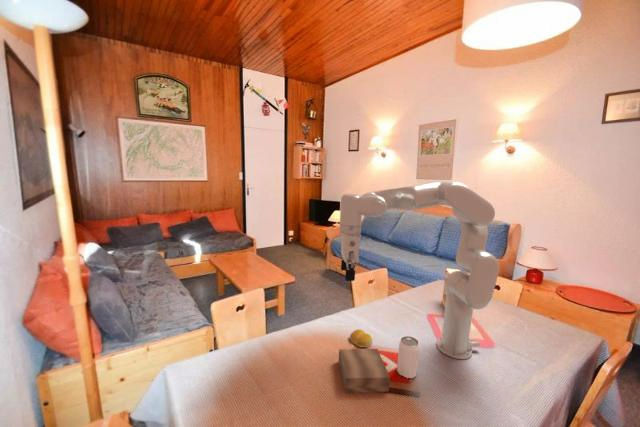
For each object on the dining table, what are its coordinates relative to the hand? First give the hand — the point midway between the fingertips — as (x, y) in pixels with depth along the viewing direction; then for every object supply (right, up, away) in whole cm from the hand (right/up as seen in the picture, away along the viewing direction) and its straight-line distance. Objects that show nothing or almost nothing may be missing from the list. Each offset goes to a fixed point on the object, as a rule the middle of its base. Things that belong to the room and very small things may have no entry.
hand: (347, 275), depth 102 cm
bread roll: (+7, -30, +12) cm, 33 cm away
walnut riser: (+4, -33, -7) cm, 34 cm away
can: (+20, -33, -5) cm, 39 cm away
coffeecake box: (+57, -27, +40) cm, 75 cm away
